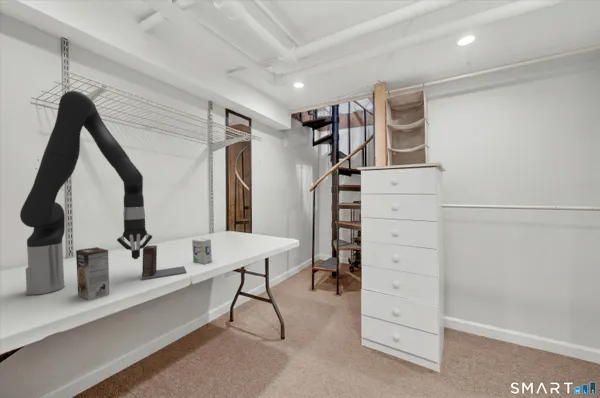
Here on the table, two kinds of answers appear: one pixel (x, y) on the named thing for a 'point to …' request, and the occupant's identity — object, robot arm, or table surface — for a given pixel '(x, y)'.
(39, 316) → the table surface
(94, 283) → the coffee box
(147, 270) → the box
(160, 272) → the mat
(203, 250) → the ink box
